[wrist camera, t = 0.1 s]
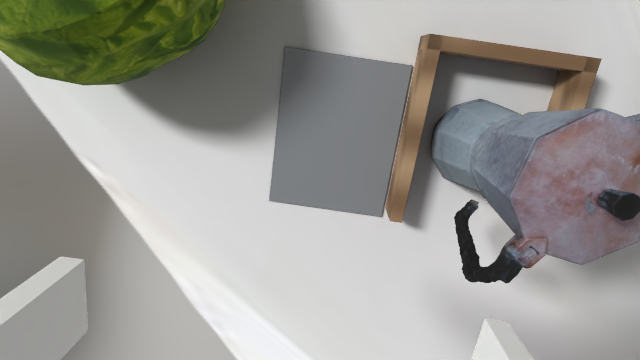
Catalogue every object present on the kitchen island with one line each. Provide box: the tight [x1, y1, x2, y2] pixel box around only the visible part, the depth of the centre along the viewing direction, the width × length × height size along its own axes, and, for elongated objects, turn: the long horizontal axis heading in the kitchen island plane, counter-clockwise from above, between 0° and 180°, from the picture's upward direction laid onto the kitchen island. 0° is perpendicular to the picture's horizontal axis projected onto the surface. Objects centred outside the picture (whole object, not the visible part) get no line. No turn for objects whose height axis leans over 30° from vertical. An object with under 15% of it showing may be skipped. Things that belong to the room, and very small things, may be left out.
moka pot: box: [431, 99, 640, 283], centre depth 29 cm, size 10×15×20 cm, turn 144°
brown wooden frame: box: [386, 34, 601, 223], centre depth 37 cm, size 18×15×4 cm
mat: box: [269, 47, 412, 217], centre depth 39 cm, size 16×12×1 cm
